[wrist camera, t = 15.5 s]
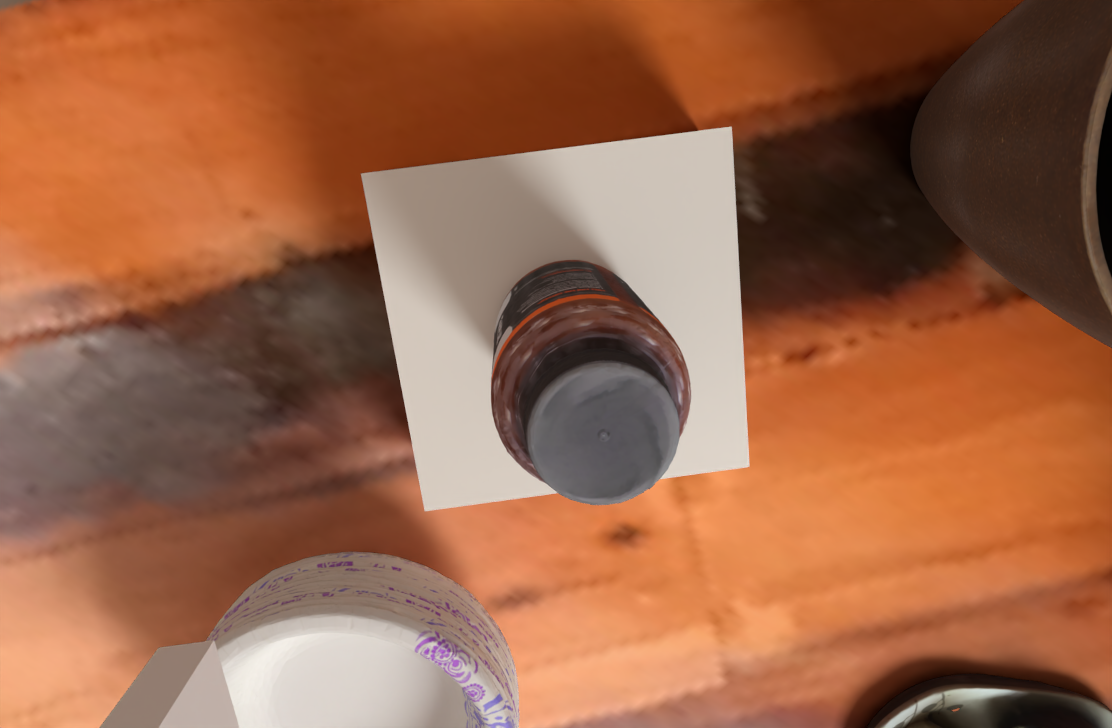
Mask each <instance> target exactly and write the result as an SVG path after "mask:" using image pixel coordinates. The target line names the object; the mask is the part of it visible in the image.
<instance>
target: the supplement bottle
mask: <svg viewBox="0 0 1112 728" xmlns="http://www.w3.org/2000/svg"><path fill="white" fill-rule="evenodd" d="M690 384H691V383H690V378H689V373H688V369H687V366H686V363H685V360H684V357H683V355H682V352H681V350H680V348H679V346H678V345H677V343H676V341H675V340H674V338H673V337H672V336H671V334H670V333H669V332H668V330H667V329H666V328H665V327H664V326H663V324H662V323H661V322H660V321H659V319H658V318H657V317H656V316H655V315H654V314H653V313H652V311H651V310H650V309H649V308H648V307H647V306H646V305H645V304H644V302H643V301H642V300H641V299H640V298H639V297H638V295H637V294H636V293H635V292H634V291H633V290H632V289H631V288H630V287H629V285H628V284H627V283H626V282H625V281H623V280H622V279H621V278H620V277H618V276H617V275H615V274H614V273H613V272H611V271H609V270H607V269H606V268H604V267H602V266H599V265H597V264H594V263H590V262H588V261H582V260H563V261H556V262H551V263H548V264H545V265H543V266H540V267H538V268H536V269H534V270H532V271H530V272H529V273H527V274H526V275H525V276H524V277H522V278H521V279H520V280H519V281H518V282H517V283H516V284H515V285H514V287H513V288H512V289H511V290H510V292H509V293H508V294H507V296H506V298H505V300H504V301H503V303H502V306H501V308H500V311H499V314H498V317H497V321H496V326H495V333H494V349H493V363H492V377H491V407H492V415H493V418H494V423H495V427H496V429H497V431H498V434H499V437H500V439H501V441H502V443H503V445H504V447H505V448H506V450H507V452H508V453H509V454H510V455H511V456H512V457H513V459H514V460H515V461H516V462H517V463H518V464H519V465H520V466H521V467H522V468H523V469H525V470H526V471H527V472H528V473H529V474H531V475H532V476H534V477H535V478H537V479H539V481H542V482H544V483H546V484H547V485H548V486H550V487H551V488H552V489H554V490H555V491H556V492H557V493H559V494H560V495H562V496H564V497H566V498H568V499H570V500H574V501H577V502H581V503H587V504H590V505H609V504H615V503H621V502H624V501H627V500H629V499H632V498H634V497H636V496H637V495H639V494H641V493H643V492H644V491H645V490H647V489H650V488H651V487H652V486H653V485H654V484H655V483H656V482H657V481H658V480H659V479H660V478H661V477H662V476H663V475H664V473H665V472H666V471H667V470H668V468H669V466H670V464H671V462H672V460H673V458H674V456H675V454H676V450H677V446H678V443H679V438H680V436H681V435H682V433H683V430H684V428H685V425H686V423H687V419H688V415H689V410H690V403H691V387H690Z"/></svg>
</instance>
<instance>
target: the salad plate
mask: <svg viewBox="0 0 1112 728" xmlns="http://www.w3.org/2000/svg"><path fill="white" fill-rule="evenodd" d="M957 708H960V709H959V711H955V712H953V711H952V710H953V709H957ZM867 728H1112V711H1111V710H1110V709H1109V708H1108V707H1107V706H1105V705H1104V704H1102V703H1100V702H1098V701H1096V700H1094V699H1091V698H1089V697H1086V696H1084V695H1081V694H1078V693H1075V692H1072V691H1069V690H1066V689H1063V688H1060V687H1055V686H1051V685H1047V684H1044V683H1041V682H1037V681H1029V680H1020V679H1013V678H1007V677H1000V676H993V675H985V674H958V675H950V676H944V677H939V678H934V679H931V680H928V681H925V682H923V683H920V684H917V685H915V686H913V687H911V688H909V689H907V690H905V691H903V692H902V693H900V694H899V695H897V696H896V697H895V698H894V699H892V700H891V701H890V702H888V703H887V704H886V705H885V706H884V707H883V708H882V709H881V710H880V711H879V712H878V713H877V714H876V716H875V717H874V718H873V719H872V720H871V722H870V723H869V725H868V726H867Z"/></svg>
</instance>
